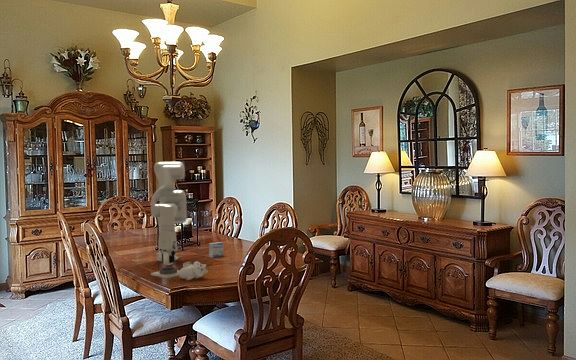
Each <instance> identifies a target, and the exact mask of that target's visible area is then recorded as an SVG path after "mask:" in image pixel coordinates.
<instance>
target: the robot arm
mask: <svg viewBox="0 0 576 360" xmlns="http://www.w3.org/2000/svg"><path fill="white" fill-rule="evenodd" d="M184 165H185V164H184V163H183V162H182V161H159V162H158V161H157V162H156V163H154V166H153V171H154V173H155V176H156V178H157V181H158V189H156V190H155V192H154V193H153V194H152V197H151V200H150V213H151V216H152V217H153V218H157V225H158V245H157V247H158V250H159V251H158V252H156V253H155V255H156V256H158V257H156V261H159V262H162V263H163V251H167V250H169V253H170V255H169V263H173V264H174V263H175V262H176V260H178V259H179V257H178V256H177V255H176V253H177V252H178V251H179V248H178V241H177V233H176V224H185V223H186V221H187V217H188V214H187V211H188V210H187V195H186V192H185V190H183V189H175V180H183V179H184V178H185V176H186V174H185V173H186V172H185V171H186V169H185V166H184ZM158 200H159V203H157V202H158Z"/></svg>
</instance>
